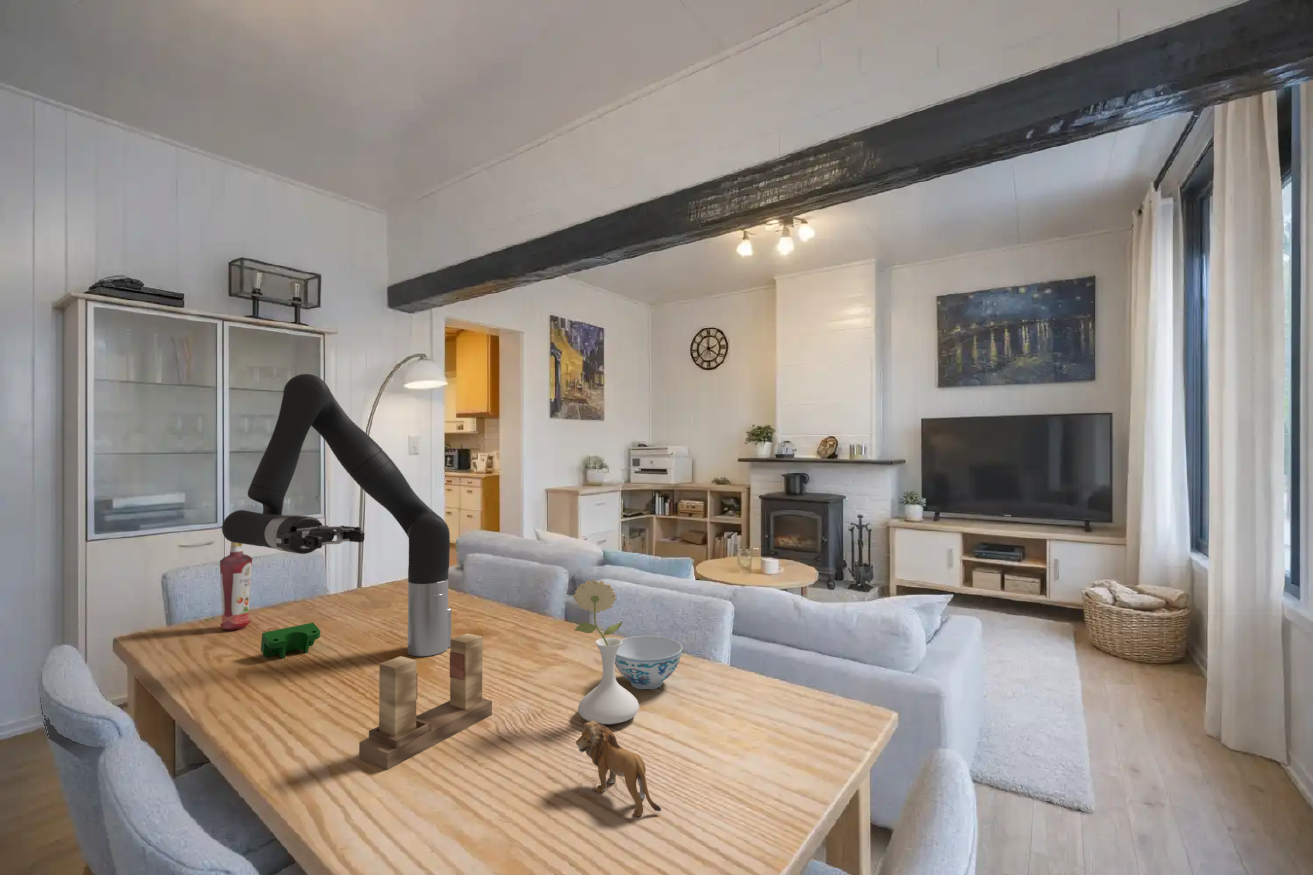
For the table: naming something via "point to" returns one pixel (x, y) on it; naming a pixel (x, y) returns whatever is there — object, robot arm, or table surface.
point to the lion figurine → (615, 762)
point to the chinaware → (647, 660)
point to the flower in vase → (604, 661)
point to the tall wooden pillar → (397, 696)
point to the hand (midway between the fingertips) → (342, 539)
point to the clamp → (289, 639)
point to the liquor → (235, 588)
